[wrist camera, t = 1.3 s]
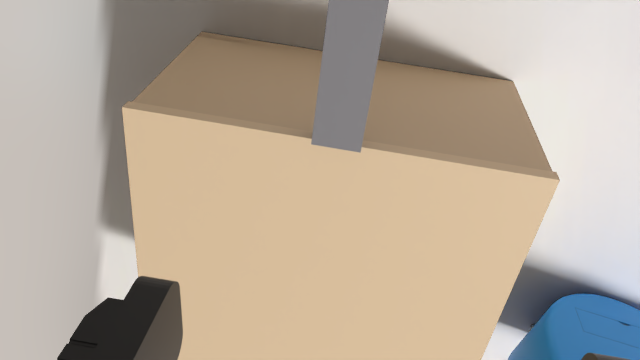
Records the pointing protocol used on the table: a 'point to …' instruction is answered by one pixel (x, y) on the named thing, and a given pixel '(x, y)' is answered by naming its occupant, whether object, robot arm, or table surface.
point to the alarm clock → (582, 330)
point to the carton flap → (327, 224)
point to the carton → (384, 109)
